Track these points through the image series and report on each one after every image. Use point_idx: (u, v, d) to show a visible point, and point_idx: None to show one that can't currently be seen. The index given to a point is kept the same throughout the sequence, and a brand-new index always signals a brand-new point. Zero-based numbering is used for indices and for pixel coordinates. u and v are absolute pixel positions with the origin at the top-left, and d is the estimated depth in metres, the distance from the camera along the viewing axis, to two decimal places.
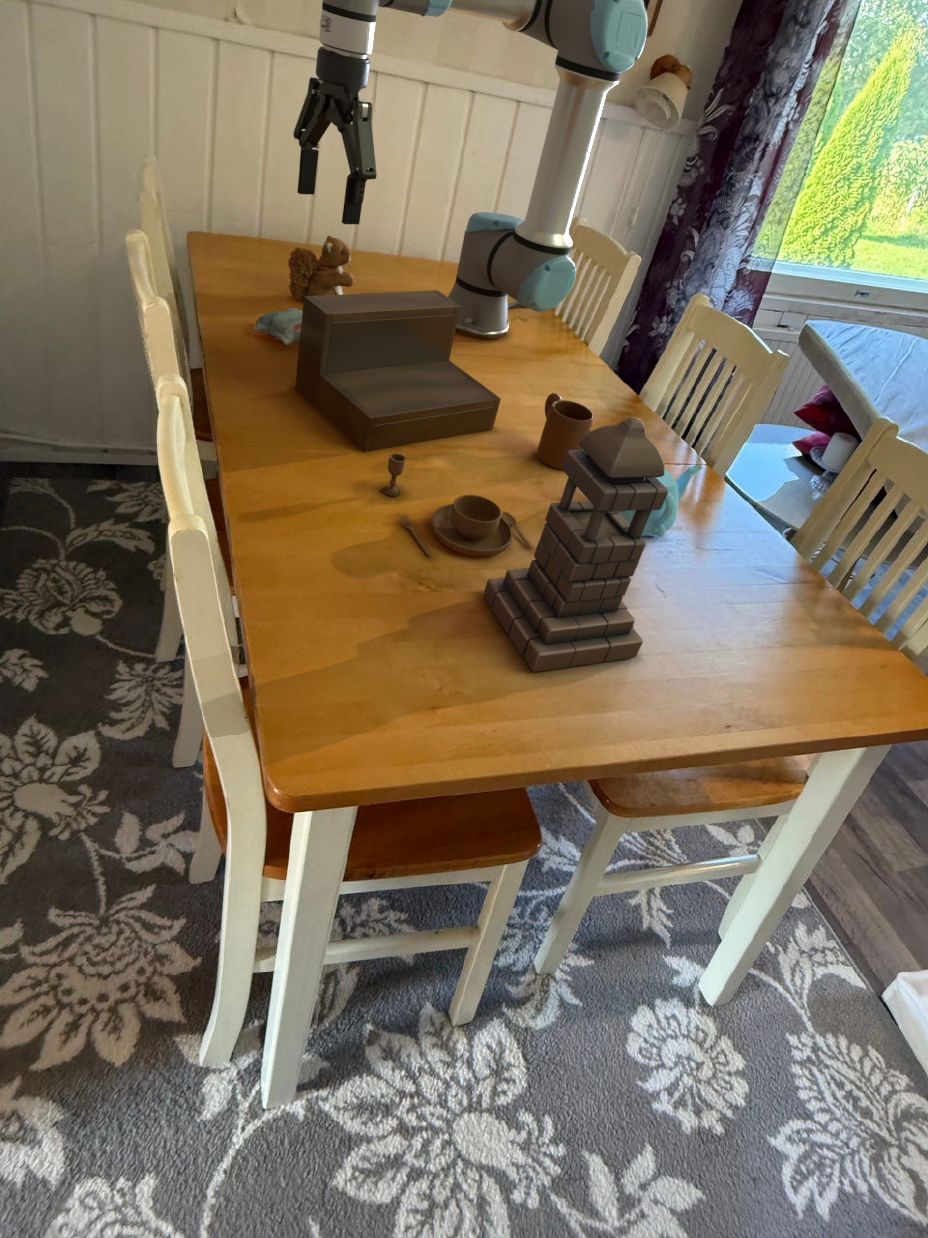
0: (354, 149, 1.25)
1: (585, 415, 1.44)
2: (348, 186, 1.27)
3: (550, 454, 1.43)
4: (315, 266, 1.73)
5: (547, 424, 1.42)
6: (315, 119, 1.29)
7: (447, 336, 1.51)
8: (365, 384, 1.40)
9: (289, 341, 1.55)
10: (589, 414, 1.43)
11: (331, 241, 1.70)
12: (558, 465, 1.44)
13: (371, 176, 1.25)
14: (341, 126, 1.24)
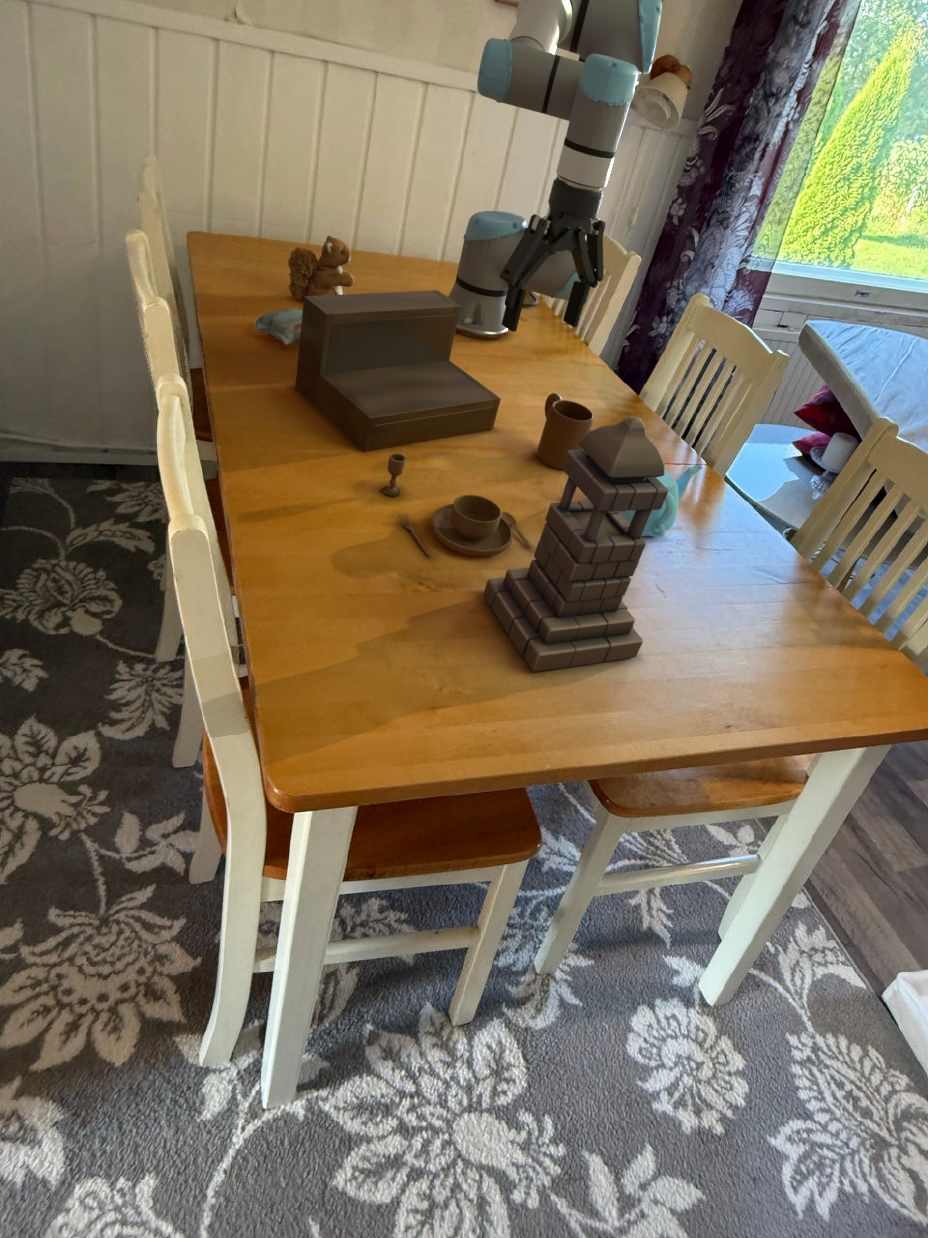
0: None
1: (585, 415, 1.44)
2: None
3: (550, 454, 1.43)
4: (315, 266, 1.73)
5: (547, 424, 1.42)
6: None
7: (447, 336, 1.51)
8: (365, 384, 1.40)
9: (289, 341, 1.55)
10: (589, 414, 1.43)
11: (331, 241, 1.70)
12: (558, 465, 1.44)
13: (506, 279, 1.25)
14: None
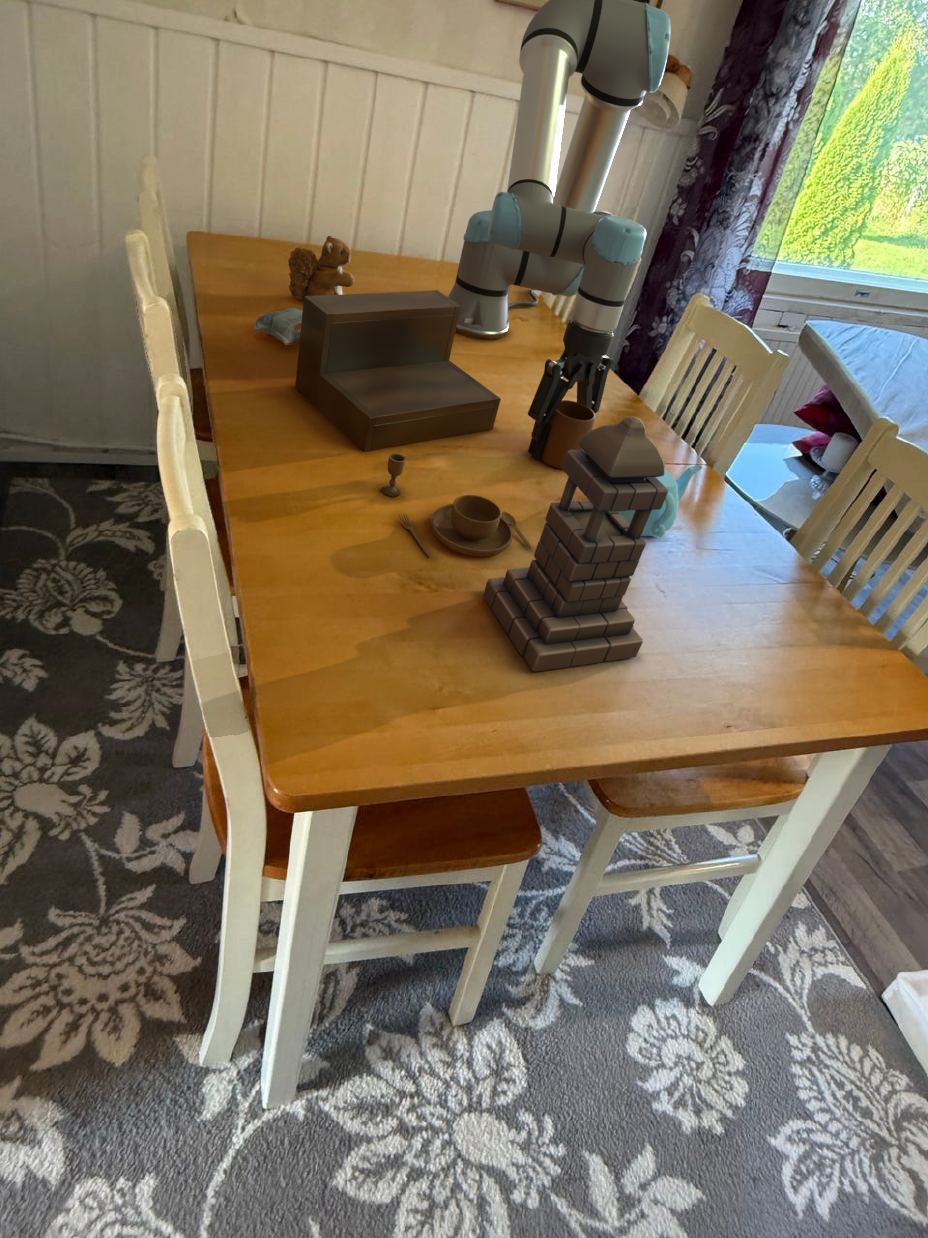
0: None
1: (586, 415, 1.44)
2: None
3: (552, 454, 1.43)
4: (315, 266, 1.73)
5: None
6: None
7: (447, 336, 1.51)
8: (365, 384, 1.40)
9: (289, 341, 1.55)
10: (590, 414, 1.43)
11: (331, 241, 1.70)
12: (560, 465, 1.44)
13: (534, 417, 1.39)
14: None
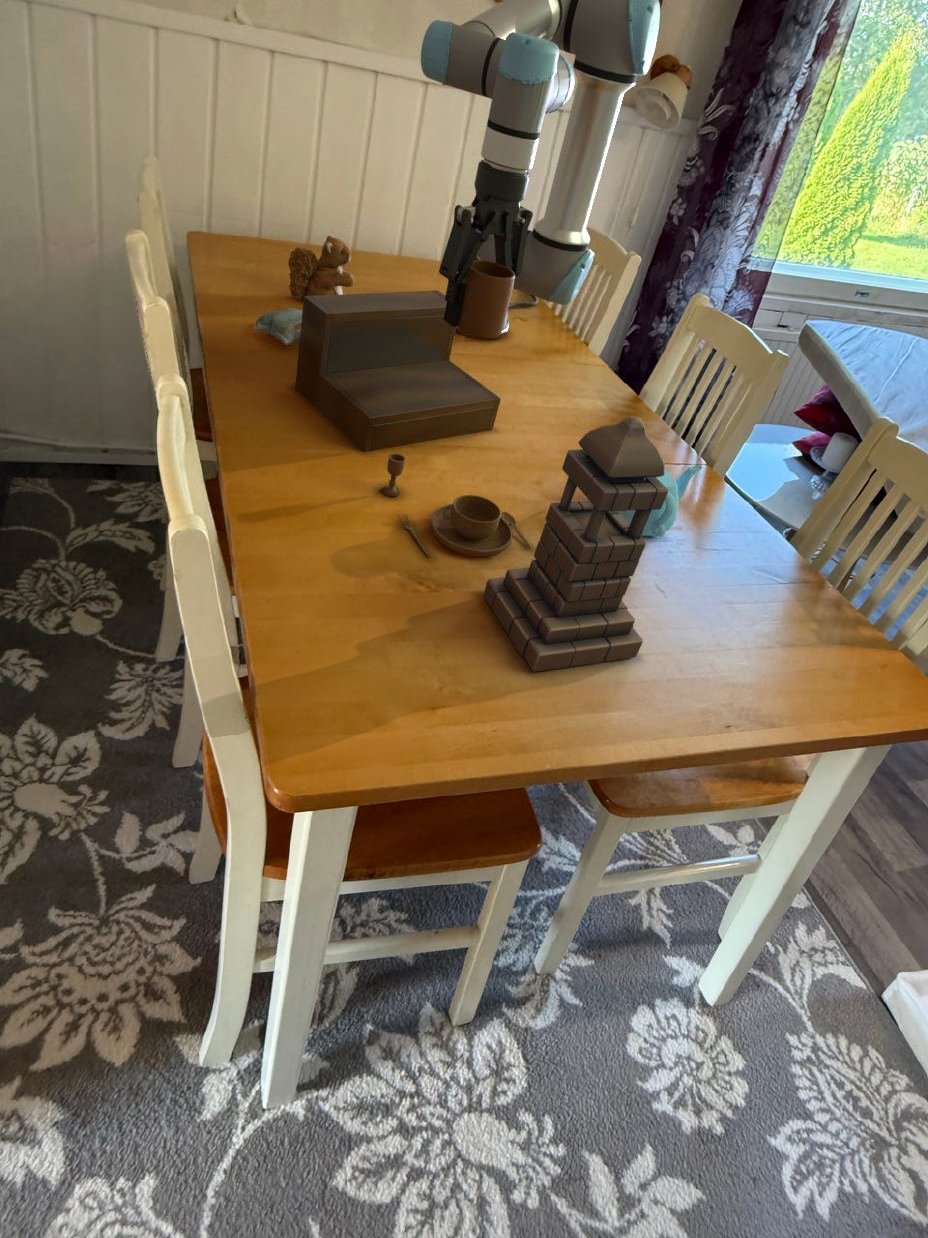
0: None
1: (506, 276, 1.31)
2: None
3: (468, 319, 1.30)
4: (315, 266, 1.73)
5: None
6: None
7: (447, 336, 1.51)
8: (365, 384, 1.40)
9: (289, 341, 1.55)
10: (510, 274, 1.30)
11: (331, 241, 1.70)
12: (478, 332, 1.31)
13: (445, 275, 1.26)
14: None
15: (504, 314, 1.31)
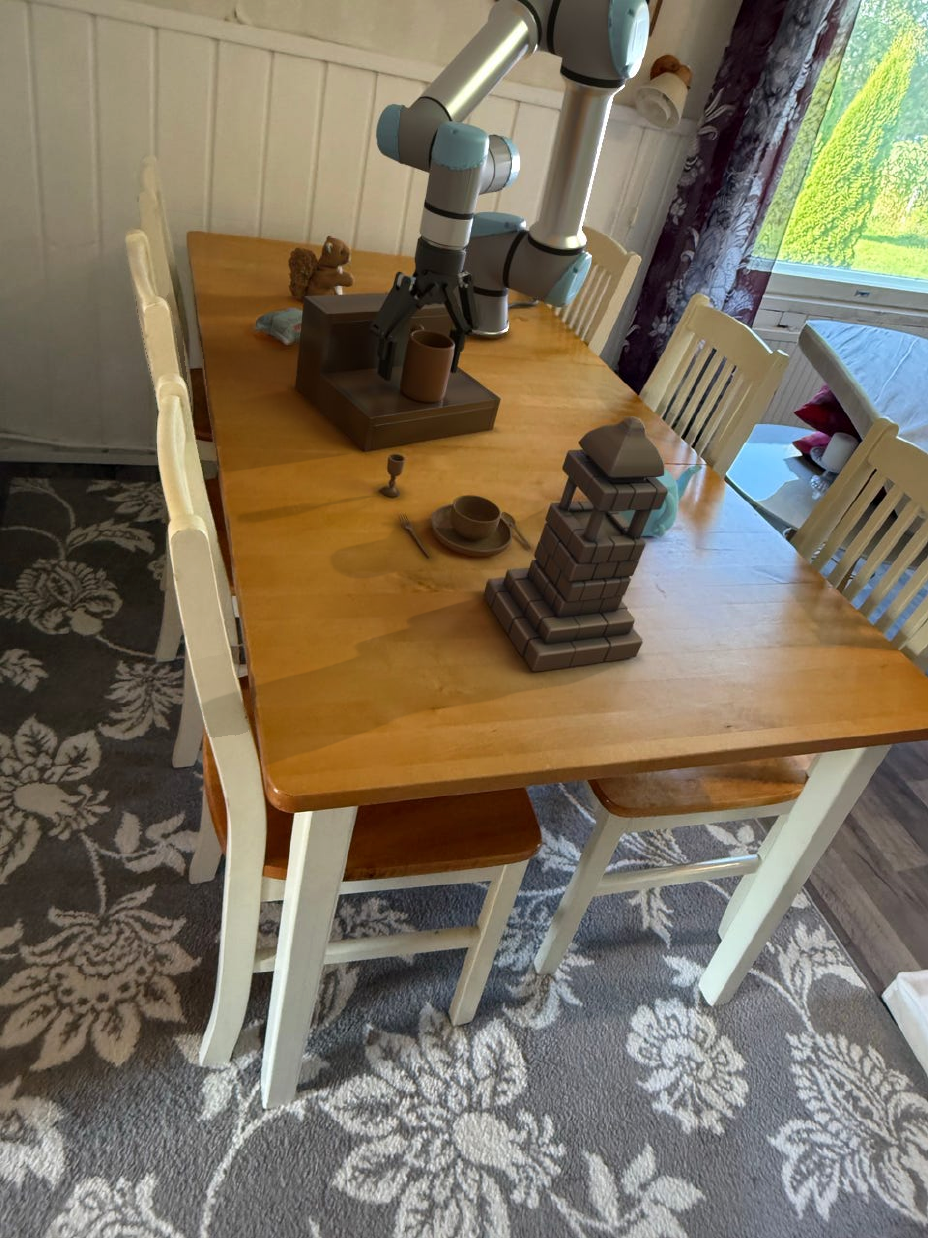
0: (395, 314, 1.32)
1: (447, 345, 1.39)
2: None
3: (411, 385, 1.38)
4: (315, 266, 1.73)
5: (406, 354, 1.36)
6: None
7: None
8: (365, 384, 1.40)
9: (289, 341, 1.55)
10: (451, 344, 1.38)
11: (331, 241, 1.70)
12: (420, 397, 1.38)
13: (375, 333, 1.30)
14: (406, 295, 1.32)
15: (445, 381, 1.38)
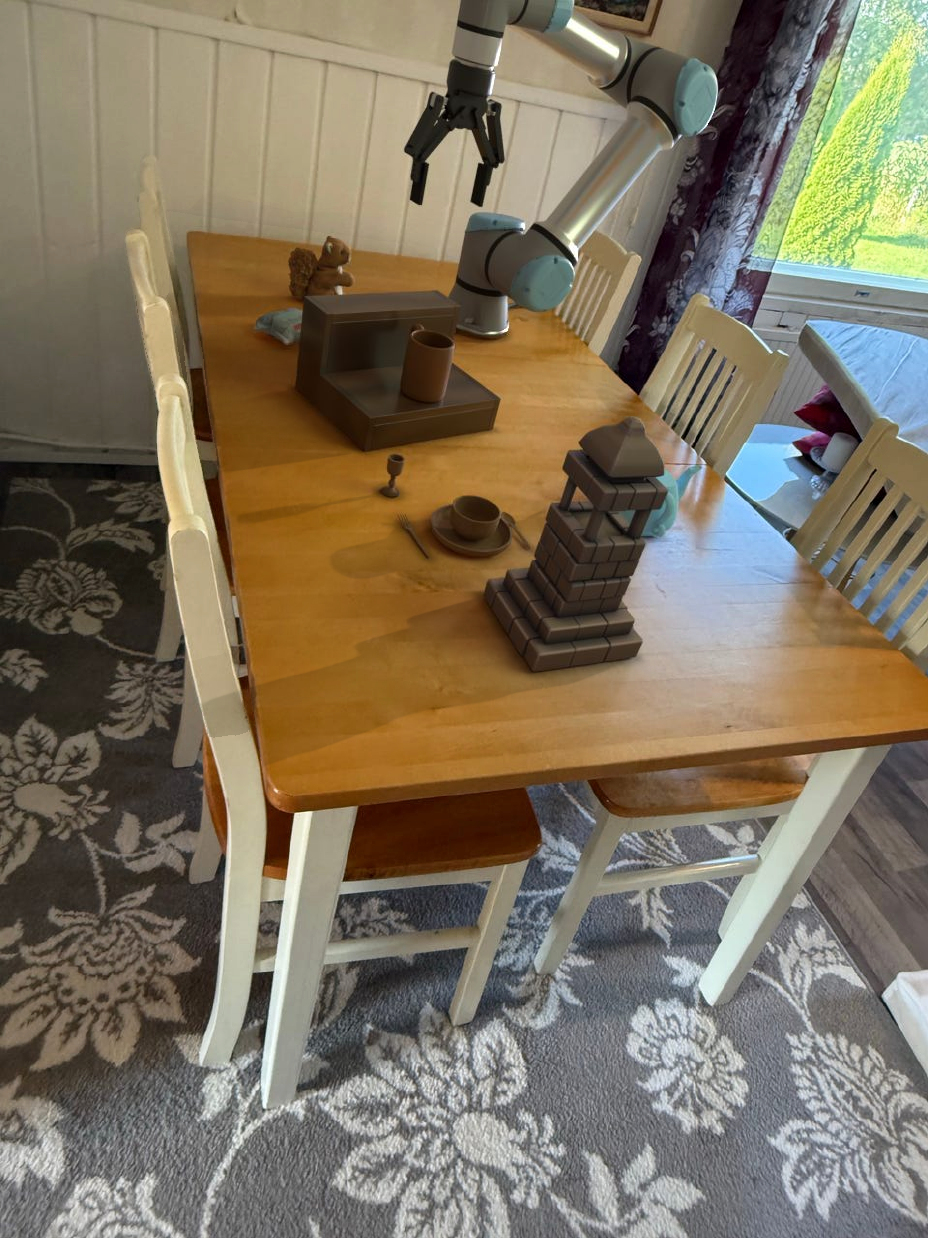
0: (428, 136, 1.40)
1: (447, 345, 1.39)
2: None
3: (411, 385, 1.38)
4: (315, 266, 1.73)
5: (406, 354, 1.36)
6: None
7: None
8: (365, 384, 1.40)
9: (289, 341, 1.55)
10: (451, 344, 1.38)
11: (331, 241, 1.70)
12: (420, 397, 1.38)
13: (409, 152, 1.39)
14: (438, 119, 1.41)
15: (445, 381, 1.38)
